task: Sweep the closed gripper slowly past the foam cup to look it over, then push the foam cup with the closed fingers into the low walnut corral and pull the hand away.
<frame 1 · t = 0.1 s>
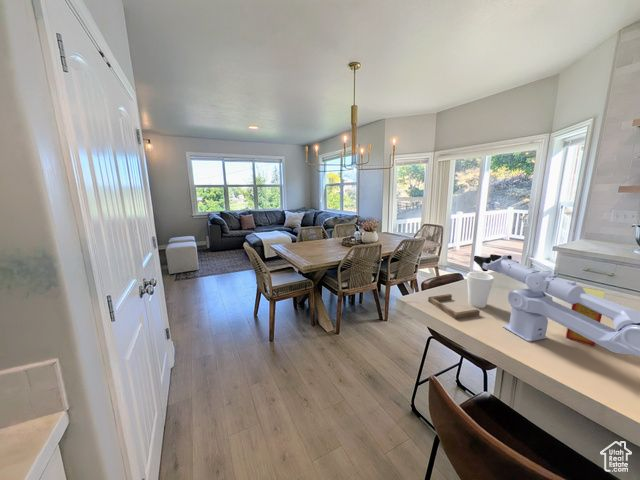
hand: (482, 257, 102), 22 cm above the kitchen island, tool horizontal, fingers open, 7 cm apart
walnut corral: (454, 307, 106), on the kitchen island
foam cup: (476, 304, 108), on the kitchen island
baking soda box: (579, 336, 85), on the kitchen island
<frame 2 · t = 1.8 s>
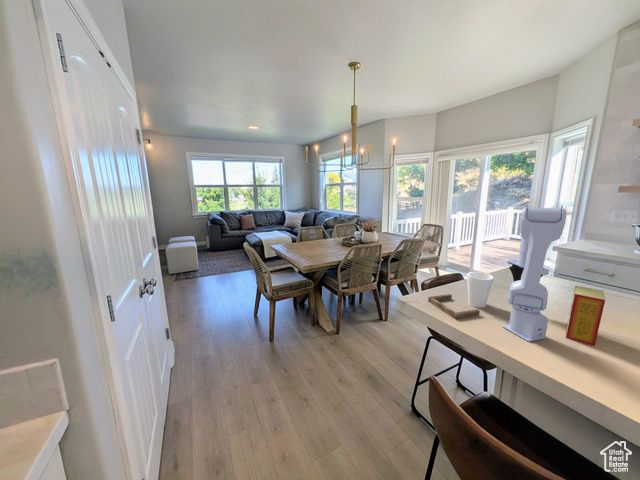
hand: (523, 286, 100), 10 cm above the kitchen island, tool pointing down, fingers open, 5 cm apart
nothing on the kitchen island moved.
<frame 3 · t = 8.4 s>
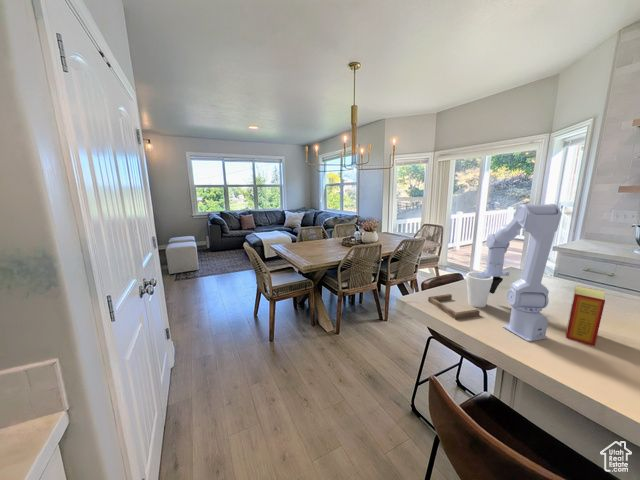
hand: (491, 292, 109), 4 cm above the kitchen island, tool pointing down, fingers closed
foam cup: (476, 304, 108), on the kitchen island, touching gripper
everything else where it was.
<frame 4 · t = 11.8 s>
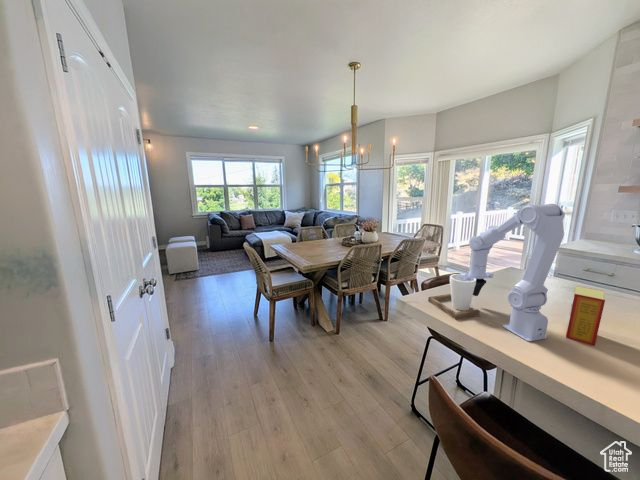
hand: (474, 295, 107), 4 cm above the kitchen island, tool pointing down, fingers closed
foam cup: (460, 307, 106), on the kitchen island, touching gripper
everything else where it was.
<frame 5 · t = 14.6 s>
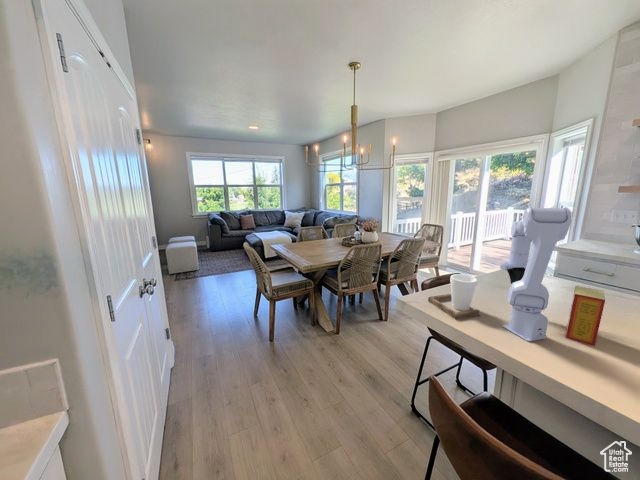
hand: (514, 284, 102), 10 cm above the kitchen island, tool pointing down, fingers closed
foam cup: (460, 307, 106), on the kitchen island
everything else where it was.
at the end: foam cup inside the target area (2.4 cm from its centre), on the kitchen island; foam cup tilted 0°; foam cup moved 8.6 cm from its start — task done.
